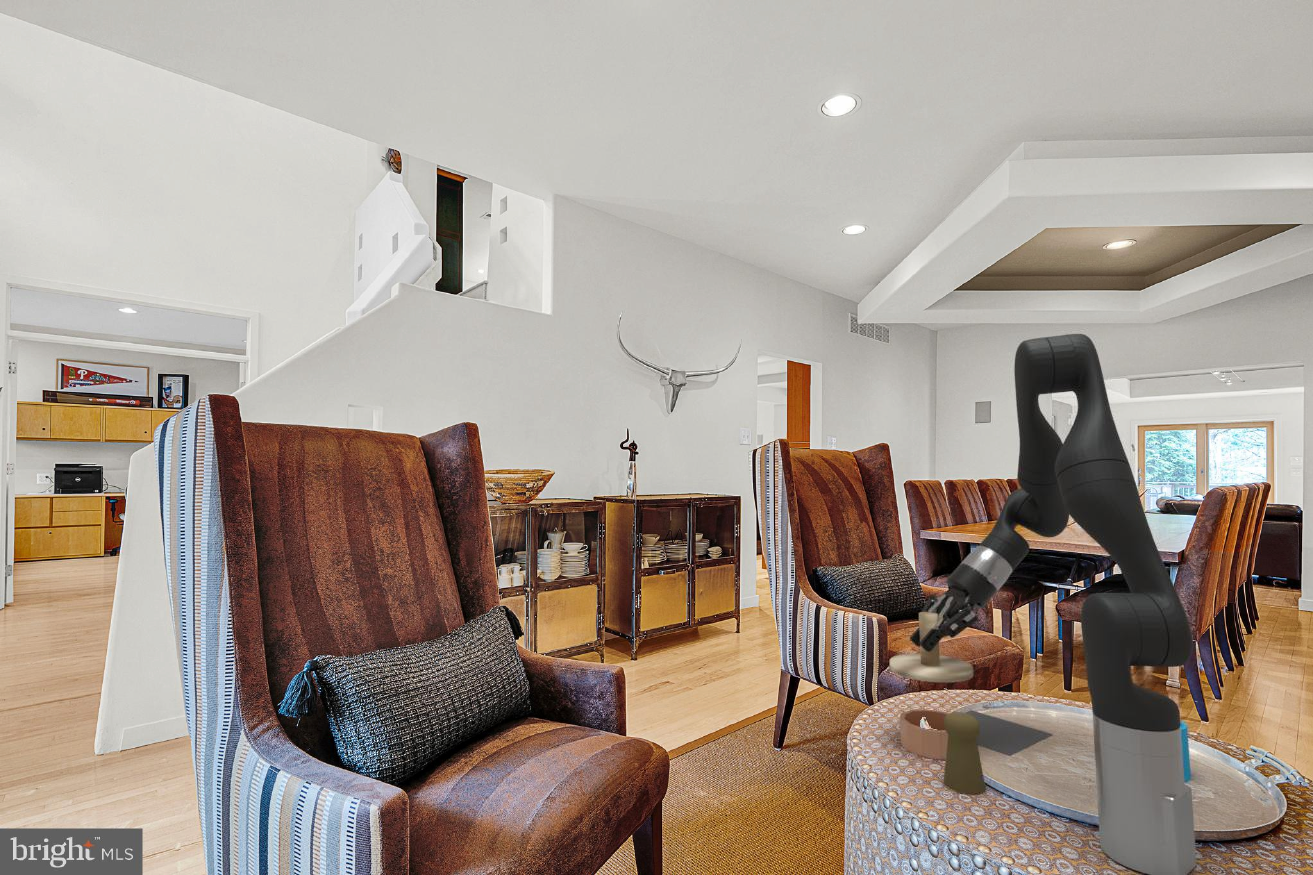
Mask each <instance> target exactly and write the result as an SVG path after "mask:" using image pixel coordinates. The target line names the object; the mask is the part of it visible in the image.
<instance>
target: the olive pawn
mask: <svg viewBox="0 0 1313 875" xmlns="http://www.w3.org/2000/svg"><path fill="white" fill-rule="evenodd" d="M948 713H949V714H947V715H946V717H945V719H944V727H945V730H946V732H947V733H948V742H947V752H946V760H945V766H944V774H943V784H945V785H946V786H947V787H949V788H950V789H949V788H948V789H949V790H951V789H952V790H955V791H957V792H956V793H958V792H960V793H959V794H962V793H965V794H964V795H968V794H978V795H982V794H984V793H986V790H987V788H986V783H985V778H984V773H983V767H982V762H981V755H980V751H979V745H978V744H977V739H976V738H977V737H978V736H979V732H980V725H979V722H978V721H977V719H976V718H975V717H973V716H972V715H970V714H967V713H965V712H961V711H959V712H958V711H954V712H948ZM945 785H944V786H945ZM946 786H945V787H946ZM947 787H946V788H947ZM952 790H951V791H952ZM955 791H954V792H955ZM983 792H984V793H983ZM981 793H982V794H981Z"/></svg>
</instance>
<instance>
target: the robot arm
mask: <svg viewBox="0 0 1313 875" xmlns="http://www.w3.org/2000/svg"><path fill="white" fill-rule="evenodd" d="M1013 370H1014V387H1015V401H1016V404H1015V405H1016V415H1017V424H1018V433H1019V434H1018V435H1019V451H1018V452H1019V454H1018V455H1019V456H1018V463H1017V465H1018V466H1017V478H1016V479H1017V483H1018V486H1019V487H1020V488H1018V489H1015V490H1013V491H1012V492H1011V493H1010V494H1009V495H1008V496H1007V497H1006V500H1005V501H1004V504H1003V506H1002V509H1001V511H1000V513H999V516H998V518H997V519H996V522H995V524H994V526H993V527H992V529H991V531H990V532H989V534H987V536H986V537H985V538H984V539H983V540H982V541H981V542H980V543H979V544H978V546H977V547H976V548H974V549H973V550H972V551H971V552H970V553H968V555H967V556H966V557H965V558H964V560H962V562H961V563H960V564H958V566H957V568H955V569H954V570H953V572H952V573H951V574H950V575H949V576H948V578H946V584H947V586H948V589H947V590H946V591H945V592H944V593H942V594H941V595H940V597H936V596H935V595H934V594H932V595H930V596H929V597H928V598H927V600H926V603H925V605H924V606H923V608H922V610H921V612H933V613H937V614H938V621H937V623H936V624H935V626H934V629H935V630H934V629H931V630H930V631H929V632H928V633H927V635H926V636H925V637H924V638H923V639H922V640H921V641H920V630H919V627H918V628H916V630H915V631H914V632H913V633H912V634H911V635H910V637H909V641H911V643H913V645H914V646H917V647H919V648H920V646H921V647H922V648H923V649H924V650H925V651H927V652H930V651H931V650H932V649H933V648H934V647H935V646H936V645H937V643H938V642H939V643H940V641H941V640H942V639H946V638H947V637H950V638H951V639H953V638H955V637H957V636H958V635H960V633H961V632H963V631H964V630H966V629H967V628H969V627H970V626H972V625H973V624H974V623H976V622H977V621H978V619H979V616H978V615H977V614H976V613H975V612H974V609H975V608H976V609H983V608H984V607H985V606H986V605H987V604H988V603H989V602H990V600H991V599H993V596H995V594H996V593H997V592H998V591H999V590H1000V589H1001V587H1002V586H1004V584H1005V583H1006V582H1007V580H1008V579H1009V577H1010V576H1011V574H1012V573H1013V571H1015V569H1016V568H1017V567H1018V566H1019V564H1020V563H1021V562H1022V561H1023V560H1024V559H1025V557H1027V555H1028V554H1029V552H1030V549H1031V548H1030V544H1029V542H1028V541H1027V539H1026V538H1024V536H1022V535H1021V534H1020V533H1019V532H1018V531H1017V530H1015V529H1016V528H1017V527H1018V525H1019V526H1020V527H1023V528H1025V529H1027V530H1029V531H1030V532H1032V533H1034V534H1036V535H1039V536H1041V537H1043V538H1055V537H1057V536H1059V535H1060V534H1061V533H1063V532H1064V531H1065V529H1067V526H1068V525H1069V524H1068V523H1069V519H1070V517H1071V518H1072V519H1073V521H1074V522H1075V523H1076V524H1077V525H1078V526H1079V527H1080V528H1081V529H1082V530H1083V531H1084V532H1085V533H1086V534H1087V535H1088V536H1089V537H1091V538H1092V540H1093V541H1095V543H1097V544H1098V545H1099V546H1100V547H1101V548H1102V549H1103V550H1104V551H1105V552H1106V553H1107V554H1108V555H1109V556H1110V558H1111V559H1112V560H1113V561H1114V562H1115V564H1116V565H1117V566H1118V568H1119V570H1120V571H1121V574H1122V575H1123V577H1124V580H1125V581H1126V584H1127V586H1128V588H1129V591H1130V592H1096V593H1095V592H1094V593H1092V594H1089V595H1088V596H1087V597H1086V598H1085V600H1084V601H1083V604H1082V607H1081V613H1080V624H1081V626H1080V627H1081V628H1080V629H1081V635H1082V636H1081V637H1082V644H1083V650H1084V651H1083V652H1084V660H1085V661H1084V662H1085V668H1086V680H1087V686H1088V691H1089V695H1090V699H1091V700H1090V701H1091V709H1092V725H1093V726H1092V727H1093V744H1094V758H1095V759H1094V762H1095V778H1096V779H1095V780H1096V797H1097V814H1098V832H1099V844H1100V848H1101V850H1102V851H1103V852H1104V854H1106V856H1108V857H1109V858H1110V859H1112V860H1113V861H1115V863H1118V864H1120V865H1122V866H1124V867H1126V868H1129V869H1131V870H1134V871H1137V872H1140V873H1142V874H1147V875H1188V874H1189V873H1190V872H1191V871H1192V870H1193V869H1195V867H1196V866H1197V865H1198V864H1197V853H1196V852H1197V851H1196V838H1195V837H1196V836H1195V822H1194V819H1195V818H1194V809H1193V808H1194V806H1193V793H1192V787H1191V786H1190V785H1188V784H1185V782H1184V769H1183V754H1182V739H1181V724H1180V721H1181V714H1180V713H1181V712H1180V708H1179V706H1178V704H1177V702H1175V701H1174V700H1173V699H1172V698H1170V697H1169V696H1167V695H1164V694H1163V693H1160V692H1157V691H1155V690H1151V689H1148V688H1146V687H1143V686H1140V685H1138V684H1136V683H1135V682H1134V681H1133V678H1132V675H1131V674H1132V673H1131V668H1130V667H1151V668H1152V667H1155V668H1173V667H1174V668H1175V667H1182V666H1184V665H1186V664H1188V662H1189V661H1190V659H1191V658H1192V655H1193V651H1194V649H1193V648H1194V646H1193V644H1194V643H1193V642H1194V638H1193V634H1192V628H1191V625H1190V622H1189V618H1188V616H1187V614H1186V611H1185V608H1184V606H1183V603H1182V601H1181V598H1180V596H1179V593H1178V591H1177V590H1176V588H1175V586H1174V584H1173V581H1172V578H1171V576H1170V575H1169V572H1168V570H1167V568H1166V566H1165V564H1164V561H1163V557H1162V556H1161V554H1160V552H1159V550H1158V547H1157V544H1156V542H1155V539H1154V537H1153V533H1152V531H1151V528H1150V525H1149V523H1148V522H1149V521H1148V519H1147V516H1146V514H1145V510H1144V507H1143V504H1142V501H1141V496H1140V493H1139V490H1138V485H1137V483H1136V480H1135V476H1134V474H1133V470H1132V467H1131V465H1130V462H1129V459H1128V457H1127V454H1126V452H1125V448H1124V446H1123V443H1122V440H1121V437H1120V435H1119V433H1118V429H1117V426H1116V423H1115V420H1114V417H1113V416H1114V415H1113V414H1112V409H1111V406H1110V401H1109V397H1108V393H1107V388H1106V384H1105V380H1104V375H1103V369H1102V367H1101V362H1100V357H1099V354H1098V351H1097V348H1096V346H1095V344H1094V342H1093V340H1092V339H1091V337H1089V336H1087V335H1086V334H1083V333H1068V334H1062V335H1054V336H1046V337H1038V338H1035V337H1034V338H1030V339H1026V340H1022V341H1021V342H1020V344H1018V346H1017V349H1016V352H1015V357H1014V369H1013ZM1068 392H1070V393H1071V392H1073V393H1074V394H1075V396H1076V400H1077V412H1076V415H1075V418H1074V420H1073V424H1072V426H1071V428H1070V430H1069V432H1068V434H1067V436H1066V437H1065V439H1064V441H1062V439H1061V437H1060V436H1059V435H1058V433H1057V432H1056V430H1055V429H1054V428H1053V426H1051V424H1050V423H1049V421H1048V420H1047V419H1046V417H1045V415H1044V414H1043V413H1042V410H1041V407H1040V404H1039V396H1040V395H1047V394H1058V393H1068Z"/></svg>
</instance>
